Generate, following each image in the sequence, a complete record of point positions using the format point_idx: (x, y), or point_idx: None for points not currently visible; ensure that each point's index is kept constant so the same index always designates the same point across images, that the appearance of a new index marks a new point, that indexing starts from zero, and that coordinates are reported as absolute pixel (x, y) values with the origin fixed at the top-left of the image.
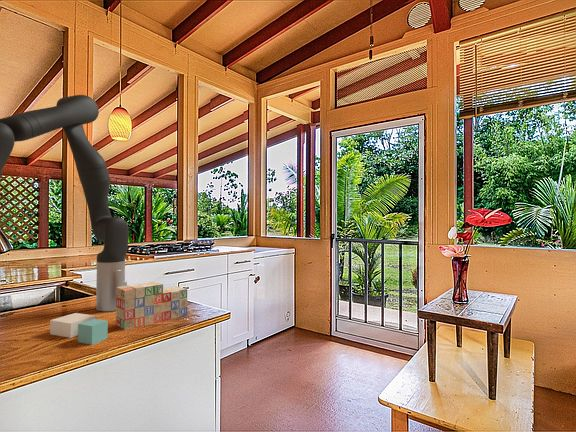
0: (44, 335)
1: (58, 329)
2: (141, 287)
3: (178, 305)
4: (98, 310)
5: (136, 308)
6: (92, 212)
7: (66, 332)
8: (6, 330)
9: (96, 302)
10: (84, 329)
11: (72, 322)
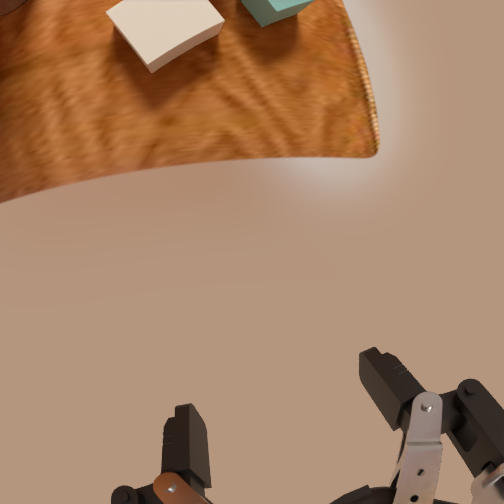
0: (153, 85)
1: (179, 51)
2: None
3: None
4: (21, 3)
5: None
6: None
7: (206, 37)
8: (59, 182)
9: (1, 6)
10: (290, 9)
11: (215, 16)
